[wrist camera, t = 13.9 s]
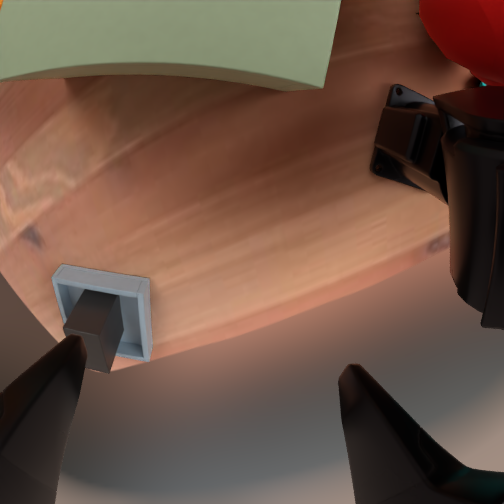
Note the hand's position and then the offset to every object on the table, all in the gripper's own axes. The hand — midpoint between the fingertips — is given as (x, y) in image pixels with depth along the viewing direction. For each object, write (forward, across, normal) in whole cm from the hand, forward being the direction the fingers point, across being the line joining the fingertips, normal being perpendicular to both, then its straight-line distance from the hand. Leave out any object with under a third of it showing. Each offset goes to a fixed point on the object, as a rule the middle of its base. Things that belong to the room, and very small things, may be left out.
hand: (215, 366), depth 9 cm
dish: (+12, +9, +10) cm, 18 cm away
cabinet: (+12, +5, -15) cm, 20 cm away
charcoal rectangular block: (+12, +9, +10) cm, 17 cm away
